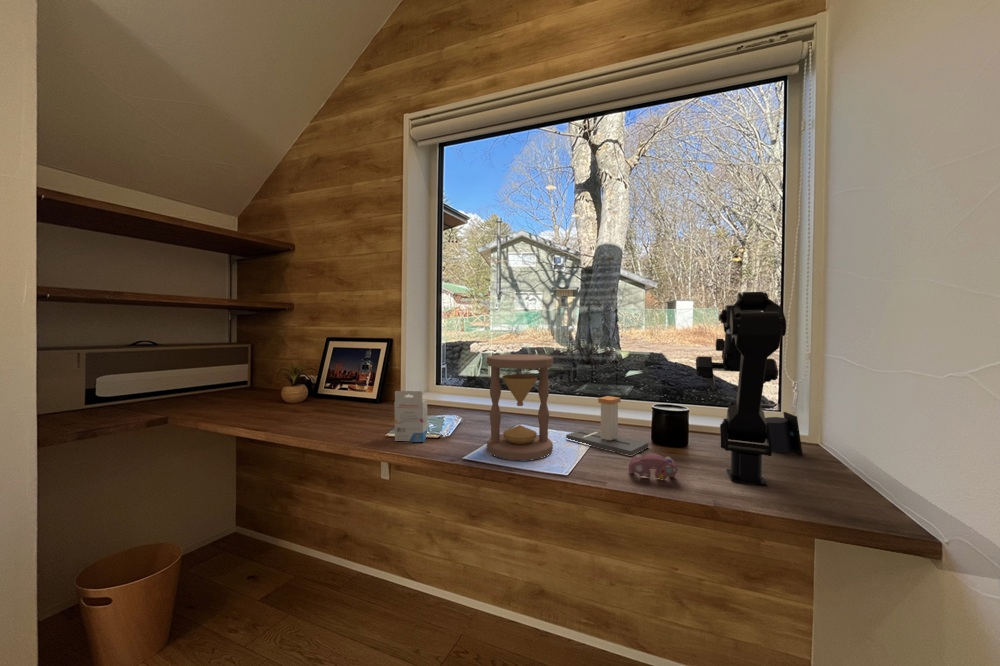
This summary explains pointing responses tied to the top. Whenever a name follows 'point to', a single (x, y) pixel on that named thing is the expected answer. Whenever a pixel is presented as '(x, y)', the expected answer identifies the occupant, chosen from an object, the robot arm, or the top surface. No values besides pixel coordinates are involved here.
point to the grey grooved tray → (608, 441)
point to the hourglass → (519, 439)
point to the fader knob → (609, 417)
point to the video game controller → (653, 465)
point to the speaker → (785, 434)
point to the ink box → (410, 416)
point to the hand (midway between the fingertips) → (732, 389)
